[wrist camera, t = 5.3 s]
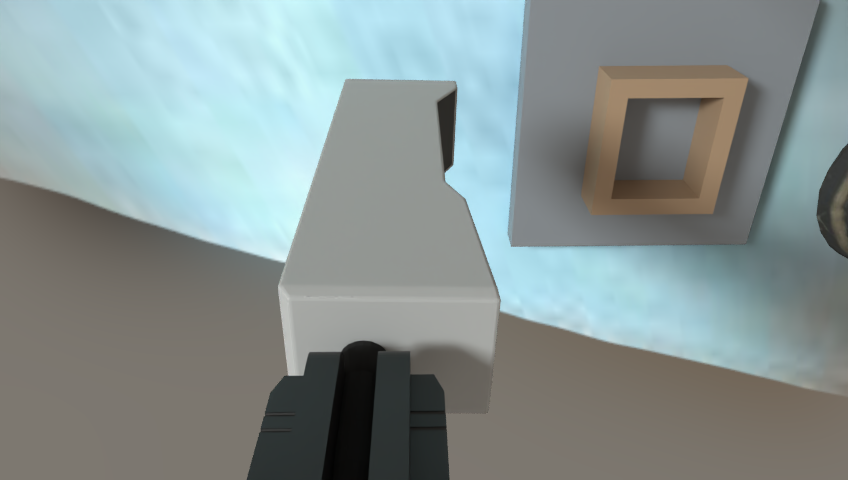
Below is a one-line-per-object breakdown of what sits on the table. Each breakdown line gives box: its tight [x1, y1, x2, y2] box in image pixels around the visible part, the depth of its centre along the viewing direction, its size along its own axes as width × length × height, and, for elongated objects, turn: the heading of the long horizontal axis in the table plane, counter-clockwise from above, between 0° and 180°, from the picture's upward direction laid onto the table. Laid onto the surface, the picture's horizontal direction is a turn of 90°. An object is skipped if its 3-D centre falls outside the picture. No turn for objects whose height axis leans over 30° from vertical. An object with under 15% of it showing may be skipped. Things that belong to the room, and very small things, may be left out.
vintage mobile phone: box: [278, 79, 501, 480], centre depth 18 cm, size 4×5×25 cm
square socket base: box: [508, 0, 820, 247], centre depth 42 cm, size 18×18×5 cm
